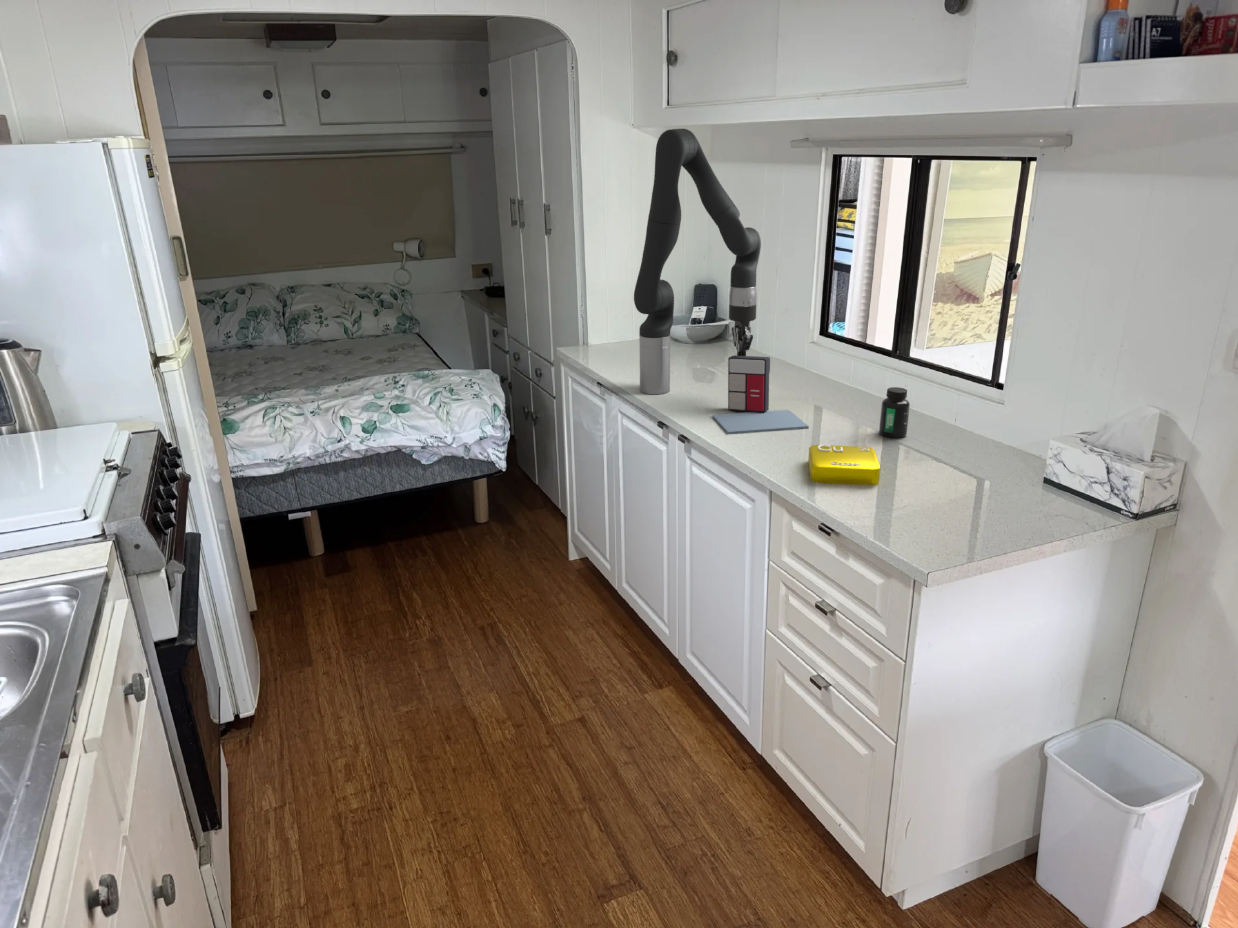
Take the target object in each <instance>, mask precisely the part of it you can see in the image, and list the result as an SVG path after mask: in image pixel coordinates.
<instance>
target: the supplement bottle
mask: <svg viewBox="0 0 1238 928" xmlns="http://www.w3.org/2000/svg"><path fill="white" fill-rule="evenodd" d="M885 395H886V398H884V399H883V400H882V401H881V405H880V417H879V418H880V419H879V428H878V433H879V435H880V436H882V437H883V438H887V439H895V440H897V439H903V438H905V437H906V436H907V434H908V433H907V432H908V426H909V418H910V417H909V416H910V410H911V409H910V407H911V404H910V402H909V400H908V399H907V398H908V390H907V389H906V388H903V387H897V386H896V387H894V386H893V387H889V388H887V389H886V394H885Z"/></svg>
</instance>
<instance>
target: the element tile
mask: <svg viewBox="0 0 1238 928" xmlns="http://www.w3.org/2000/svg"><path fill="white" fill-rule="evenodd" d="M807 464H808V471H809V480H810V481H812V482H813V483H816V482H817V483H816V484H827V483H828V484H829V485H850V486H852V485H853V486H877V485H879V483H880V479H881V478H880V477H881V465H880V462H879V458H878V456H877V452H876V450H875V448H873V447H871V446H859V445H857V446H853V445H829V444H812V445H811V446H810V447H809V448H808V461H807ZM828 484H827V485H828Z"/></svg>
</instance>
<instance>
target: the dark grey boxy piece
mask: <svg viewBox="0 0 1238 928" xmlns="http://www.w3.org/2000/svg"><path fill="white" fill-rule="evenodd" d="M727 359H728V361H727V363H728V364H727V366H728V367H727V368H728V369H727V373H728V374H727V375H728V376H727V378H728V379H727V381H728V382H727V384H728V385H727V386H728V387H727V390H728V391H727V397H728V398H727V406H728V407H727V409H728V410H729V411H737V412H739V411H740V412H762V413H764V412H766V411H770V410H769V406H770V404H769V403H770V402H769V401H770V399H769V398H770V396H769V395H770V373H771V358H770V357H769V356H754V355H746V356H737V354H736V355H732V356H729V357H728V358H727Z"/></svg>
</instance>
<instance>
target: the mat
mask: <svg viewBox="0 0 1238 928" xmlns="http://www.w3.org/2000/svg"><path fill="white" fill-rule="evenodd" d="M711 416H712V418H713V419H714V420H715V421H716V423H717V424H718V425H719V426H720V427H721V429H723V431H724V432H726V433H727V434H728V435H735V434H736V435H737V434H747V433H762V432H774V431H791V430H804V429H809V427H810V426H809V425H808V424H807V423H805V421H803V420H802V419H800V417H798V416H797V415H796V414H794V412H792V411H791V410H790V409H780V410H778V409H777V410H768V411H766V412H764V413H762V412H749V411H747V412H738V413H737V412H736V413H735V412H732V413H722V414H712V415H711Z"/></svg>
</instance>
